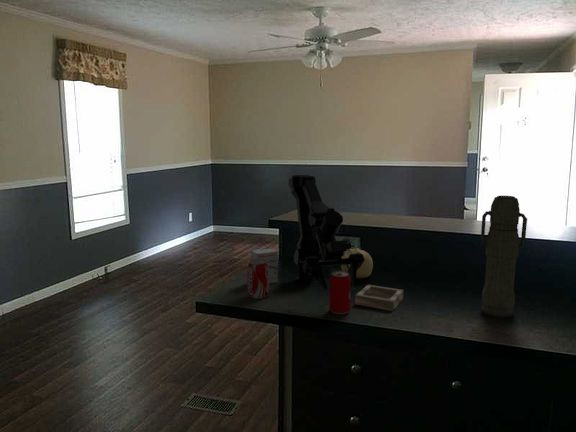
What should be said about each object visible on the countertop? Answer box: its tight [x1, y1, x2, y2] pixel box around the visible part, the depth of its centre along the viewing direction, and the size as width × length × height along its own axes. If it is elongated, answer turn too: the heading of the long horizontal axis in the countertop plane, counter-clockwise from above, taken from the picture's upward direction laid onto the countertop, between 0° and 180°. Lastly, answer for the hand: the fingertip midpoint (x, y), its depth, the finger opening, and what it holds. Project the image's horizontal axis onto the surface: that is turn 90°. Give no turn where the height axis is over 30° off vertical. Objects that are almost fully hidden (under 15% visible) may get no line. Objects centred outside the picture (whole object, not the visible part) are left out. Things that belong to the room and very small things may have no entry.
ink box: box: [250, 248, 279, 284], centre depth 170 cm, size 9×5×12 cm, turn 117°
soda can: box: [246, 259, 270, 300], centre depth 155 cm, size 7×7×12 cm
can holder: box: [354, 284, 404, 312], centre depth 151 cm, size 12×12×3 cm
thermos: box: [480, 195, 528, 318], centre depth 139 cm, size 9×12×35 cm
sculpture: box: [340, 247, 374, 279], centre depth 177 cm, size 12×12×11 cm
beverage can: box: [329, 270, 352, 315], centre depth 142 cm, size 6×6×12 cm
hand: (340, 287), depth 141 cm, fingers open, 9 cm apart
